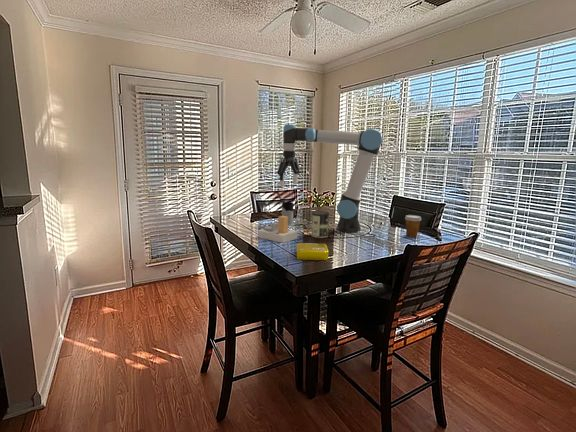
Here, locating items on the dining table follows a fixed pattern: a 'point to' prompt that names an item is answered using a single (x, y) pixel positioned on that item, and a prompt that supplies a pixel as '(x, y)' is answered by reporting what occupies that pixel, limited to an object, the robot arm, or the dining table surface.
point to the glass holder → (289, 212)
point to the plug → (282, 224)
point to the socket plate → (278, 235)
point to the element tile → (312, 251)
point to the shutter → (272, 227)
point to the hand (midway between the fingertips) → (288, 185)
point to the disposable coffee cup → (412, 225)
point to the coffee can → (320, 224)
